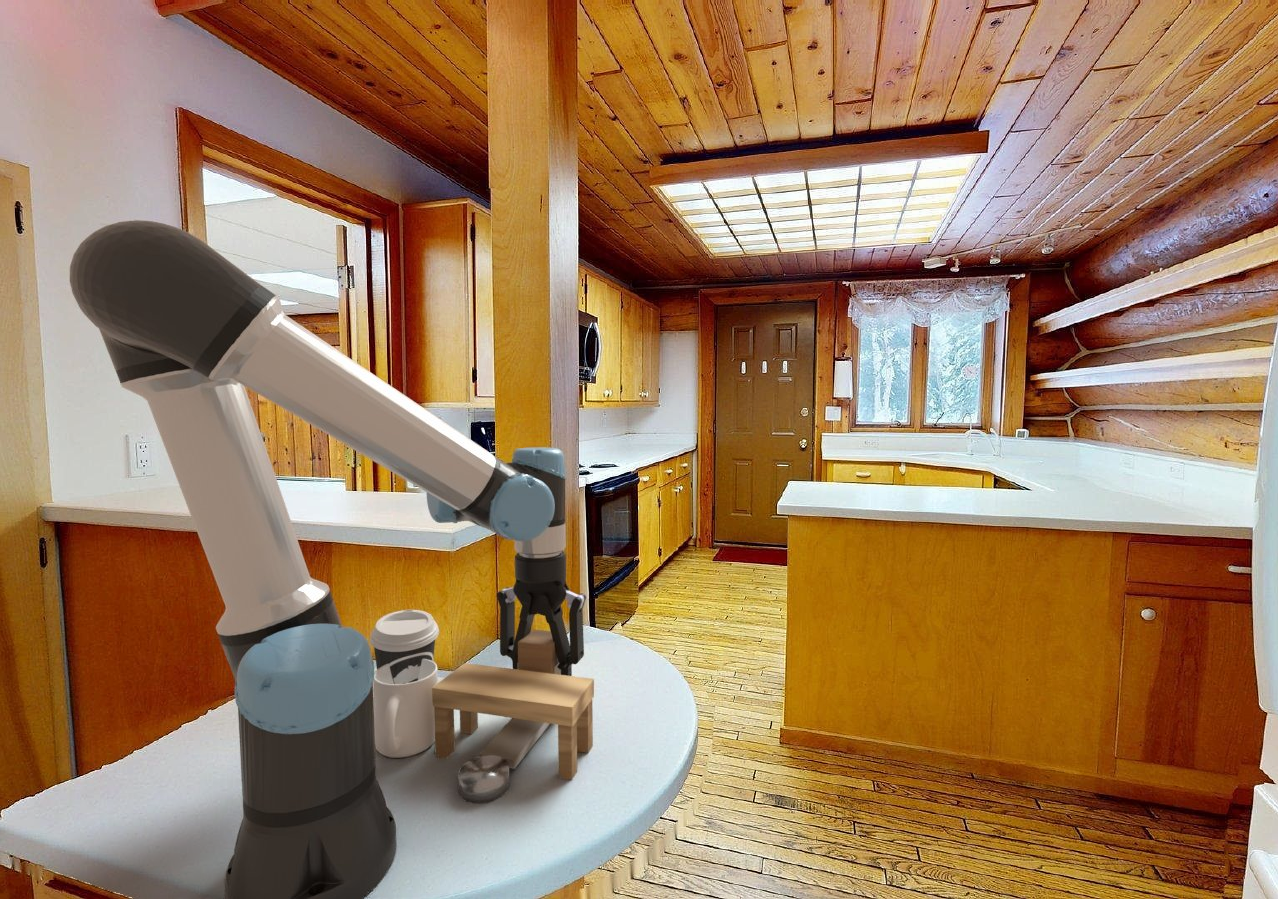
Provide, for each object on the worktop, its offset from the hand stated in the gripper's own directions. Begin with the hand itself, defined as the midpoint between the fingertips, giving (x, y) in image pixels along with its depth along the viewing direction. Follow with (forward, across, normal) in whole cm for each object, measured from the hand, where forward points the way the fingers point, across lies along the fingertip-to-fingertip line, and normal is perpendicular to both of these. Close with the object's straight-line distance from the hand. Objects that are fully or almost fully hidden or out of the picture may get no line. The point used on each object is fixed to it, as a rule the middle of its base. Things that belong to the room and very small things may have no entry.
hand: (542, 703), depth 89 cm
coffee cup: (+2, +20, +5) cm, 21 cm away
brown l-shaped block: (+1, 0, +6) cm, 6 cm away
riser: (+2, 0, +9) cm, 9 cm away
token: (+2, 0, +17) cm, 17 cm away
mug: (+2, +15, +13) cm, 20 cm away
